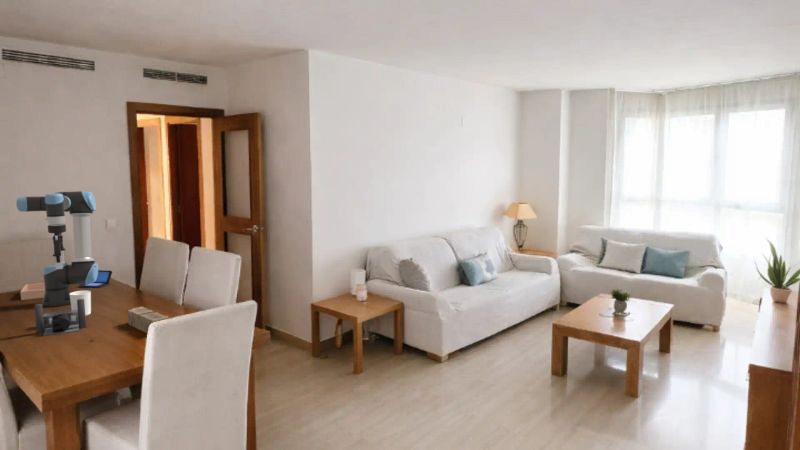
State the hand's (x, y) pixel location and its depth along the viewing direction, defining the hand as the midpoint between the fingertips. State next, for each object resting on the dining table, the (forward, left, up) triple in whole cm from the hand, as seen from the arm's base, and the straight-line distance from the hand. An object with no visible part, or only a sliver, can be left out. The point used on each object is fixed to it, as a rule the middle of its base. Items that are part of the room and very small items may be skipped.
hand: (60, 266), depth 256 cm
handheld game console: (-84, +12, -29) cm, 90 cm away
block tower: (+32, +36, -29) cm, 57 cm away
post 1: (+15, -9, -29) cm, 34 cm away
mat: (+15, 0, -29) cm, 33 cm away
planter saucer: (-74, -16, -29) cm, 81 cm away
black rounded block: (+15, 0, -29) cm, 33 cm away
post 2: (+15, +8, -29) cm, 34 cm away
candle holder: (-11, +7, -29) cm, 32 cm away
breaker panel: (+5, 0, -29) cm, 29 cm away
